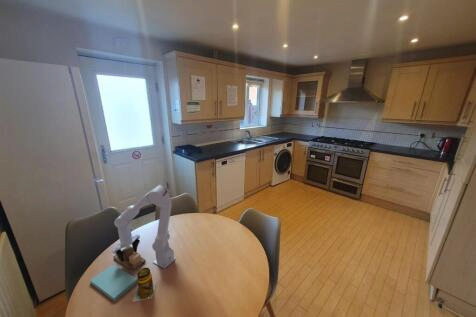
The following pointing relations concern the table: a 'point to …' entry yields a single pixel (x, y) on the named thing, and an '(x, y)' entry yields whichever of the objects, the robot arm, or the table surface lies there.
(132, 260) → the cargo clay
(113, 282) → the dock
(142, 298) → the condiment
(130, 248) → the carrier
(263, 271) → the table surface
